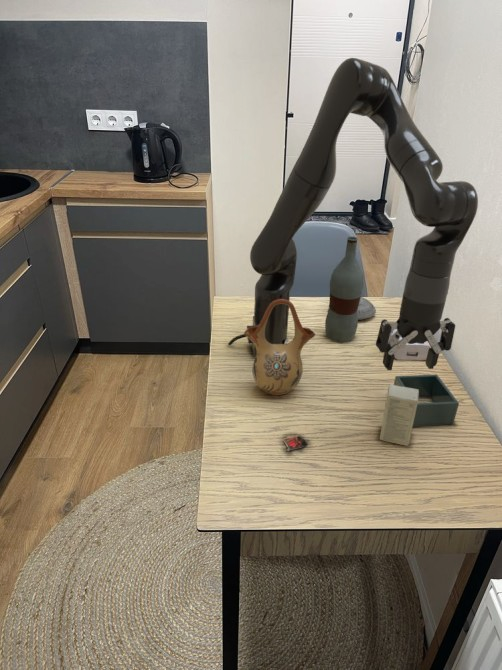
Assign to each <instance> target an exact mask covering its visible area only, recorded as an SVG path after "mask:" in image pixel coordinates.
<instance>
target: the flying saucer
mask: <svg viewBox="0 0 502 670" xmlns="http://www.w3.org/2000/svg"><path fill="white" fill-rule="evenodd" d="M376 313H377V310H376V307H375V305H374V304H373V303H372V302H371V301H370V300H368V299H367V298H365V297H362V296H361V297H360V302H359V306H358V310H357V314H358V321H359V320H367V319H369V318H372V317H374V316H375V315H376Z"/></svg>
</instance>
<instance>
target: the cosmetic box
mask: <svg viewBox="0 0 502 670" xmlns="http://www.w3.org/2000/svg"><path fill="white" fill-rule="evenodd" d="M418 396H419V390H418V389H413V388H408V387H403V386H397V385H394V384H391V383H390V384H388V389H387V394H386V400H385V406H384V412H383V417H382V422H381V429H380V434H379V440H380V441H384V442H387V443H393V444H397V445H401V446H406V447H409V445H410V440H411V437H412V436H411V435H412V430H413V427H414V426H413V422H414V417H415V413H416V408H417V403H419V397H418Z"/></svg>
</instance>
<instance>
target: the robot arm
mask: <svg viewBox="0 0 502 670" xmlns="http://www.w3.org/2000/svg"><path fill="white" fill-rule="evenodd" d="M350 114H353V115H357V116H360V117H367V118H369V120H371V121H372V122H373V123H374V124H375V125H376V126H377V127H378V128H379V129H380V131H381V132H382V136H383V145H384V146H383V147H384V153H385V156H386V158H387V161H388V162H389V164H390V166H391V167H392V169H393V170H394V172H395V173H396V175H397V176H398V178H399V179H400V180H401V182H402V184H403V185H404V190H405V194H406V197H407V200H408V201H407V202H408V205H409V208H410V211H411V214H412V215H413V217H414V219H415V220H417V222H419V223H420V224H421V225H423V226H425V227H428V228H433V229H432V230H431V232H429V233H427V234H425V235H422V236H421V237H420V238H418V239H417V240H416V241H415V244H414V247H413V251H412V257H411V262H410V266H409V269H408V273H407V276H406V279H405V283H404V287H403V294H402V299H401V303H400V309H399V317H398V318H397V320H396V321H388V320H387V319H386V318H385V319H381V321H380V325H379V329H378V334H377V338H376V342H375V346H376V347H377V348H378V350H379V353H381V354H383V358H382V364H383V366H384V368H385V369H386V371H392V370H393V365H394V362H395V355H394V353H395V352H396V351H397V350H398V349H399V348H403V347H404V346H405V345H406V344H407V343H408V344H414V343H420V344H424V342H426V341H427V343H428V344H429V346H430V348H429V350H428V354H427V358H426V360H425V366H426V367H427V369H428V370H434V368H435V367H436V366H437V364H438V360H439V357H440V354H441V352H443V351H447V352H448V351H450V350H451V349H452V345H453V339H454V336H455V330H456V323H454V322H453V320H451V319H450V318H449V317H446V318H444V319H443V320H442V317H443V314H444V309H445V305H446V302H447V298H448V294H449V290H450V284H451V275H452V271H453V266H454V263H455V258H456V254H457V251H458V250H459V248H460V246H461V245H462V244H463V241H464V239H465V238H466V235H467V234H468V231H469V230H470V228H471V226H472V224H473V222H474V220H475V218H476V215H477V211H478V208H479V197H478V196H479V195H478V193H477V190H476V188H475V186H474V185H473V184H472V183H470V182H468V181H463V180H456V181H443V182H439V181H437V180H438V179H439V178H440V176H441V175H442V173H443V170H444V166H443V161H442V159H441V158H440V156H439V155H438V154H437V152H436V150H435V149H434V148H433V146H432V145H431V144H430V142H429V141H428V140H427V138H426V137H425V136H424V135H423V133H422V132H421V130H420V129H419V128H418V127H417V124H416V123H415V121H414V120H413V118H412V116H411V115H410V113H409V111H408V109H407V106H406V105H405V103H404V101H403V99H402V96H401V94H400V92H399V90H398V88H397V86H396V83H395V81H394V79H393V77H392V75H391V74H390V73H389V71H388V70H387V69H386V68H384V67H382V66H381V65H378V64H376V63H372V62H370V61H366V60H364V59H360V58H357V57H349V58H346V59H345V60H344V61H342V62H341V63H340V64H339V66H338V67H337V68H336V69H335V71H334V73H333V75H332V78H331V79H330V81H329V83H328V86H327V89H326V92H325V94H324V97H323V100H322V102H321V105H320V107H319V110H318V113H317V115H316V118H315V120H314V123H313V125H312V128H311V130H310V132H309V135H308V137H307V139H306V141H305V144H304V146H303V147H302V150H301V151H300V154H299V155H298V158H297V159H296V161H295V164H294V166H293V167H292V169H291V172H289V173H290V174H289V176H288V178H287V180H286V182H285V184H284V187H283V189H282V191H281V193H280V195H279V197H278V199H277V201H276V204H275V206H274V208H273V210H272V212H271V215H270V216H269V218H268V220H267V221H266V223H265V225H264V227H263V228H262V230H261V231H260V233H259V234H258V236H257V238H256V239H255V241H254V242H253V245H252V246H251V249H250V252H249V259H250V260H249V261H250V264H251V267H252V269H253V270H254V271H255V272H256V273H257V274H259V275H260V277H259V279H258V280H257V282H256V283H255V285H254V306H253V308H254V309H253V316H252V325H246V329H248V328H250V327H253V326H256V327H257V326H258V325H259V324H260V322H261V321H262V319H263V316H264V314H265V312H266V310H267V308H268V306H269V305H270V303H271V302H273V301H274V300H277V299H286V300H288V301H290V298H291V290H292V288H293V285H294V282H295V276H296V267H297V256H298V251H297V250H298V249H297V245H296V242H295V241H294V239H293V238H294V237H295V235H296V233H297V232H298V231H299V230H300V229H301V228H302V226H303V225H304V224H305V223H306V222H307V221H308V220H309V219H310V218H311V216H312V215H313V214H314V213H315V212H316V211H317V210H318V208H319V207H320V206H321V204H322V202H323V201H324V199H325V198H326V197H327V194H328V192H329V191H330V189H331V187H332V185H333V183H334V181H335V178H336V173H337V141H338V137H339V135H340V132H341V130H342V128H343V126H344V123H345V122H346V120H347V118H348V116H349V115H350ZM289 312H290V308H289V306H287V305H285V304H277V305H275V306H274V307H273V309H272V311H271V313H270V315H269V317H268V320H267V324H266V328H265V338H266V340H267V341H268V342H269V343H271V344H288V341H289V336H288V327H289V314H290V313H289ZM394 329H397V331H396V332H395V333H394V334H393V335H392V337H391V339H390V340H389V337H390V334H392V333H393V330H394ZM439 330H441V333H440V338H439V341H437V340H436V338H435V334H436V333H437V332H438V331H439ZM400 337H402V339H401V340H399V338H400ZM243 338H247V343H248V344H249V345H250V344H251V347H252V353H253V356H254V357H255V356H256V346H255V345H254V343H253V342H252V341H251V340H250V339H249V338H248V337H247V336H246V335H245V334H244V333H243V334H239V335H237V336H235V337H233V338H232V339H231V340H230V341H229V342H228V343H227V345H228V346H232V345H233V344H234V343H235V342H236V341H238V340H240V339H243ZM388 340H389V341H388Z"/></svg>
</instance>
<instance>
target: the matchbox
mask: <svg viewBox="0 0 502 670" xmlns="http://www.w3.org/2000/svg"><path fill="white" fill-rule="evenodd" d="M282 441H283V443H284V444H285V446H286V447H287V448H286V451H287V452H288V453H290V451H294V450H297V449H301V448H304V447H306V446H309V444H308V442H307V441H306V439H305V438H304V437H302V436H301V435H296V434H294V433H292V434H289V435H287V436H286V438H285V437H284V438H282Z"/></svg>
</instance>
